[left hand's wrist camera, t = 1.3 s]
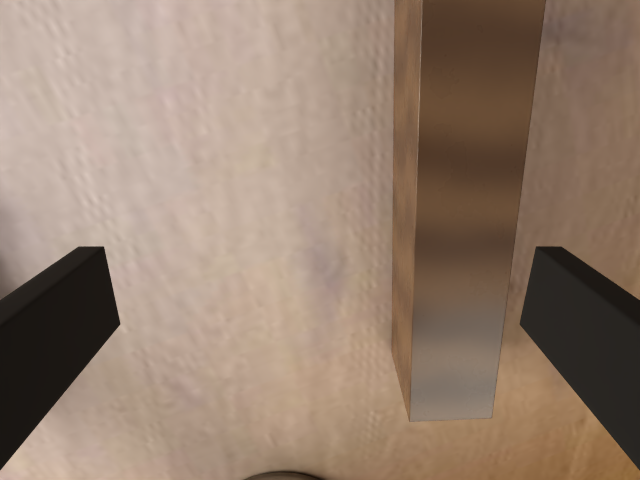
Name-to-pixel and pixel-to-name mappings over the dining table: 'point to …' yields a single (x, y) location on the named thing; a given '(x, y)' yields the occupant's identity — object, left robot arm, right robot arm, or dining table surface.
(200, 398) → the dining table surface
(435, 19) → the beam
